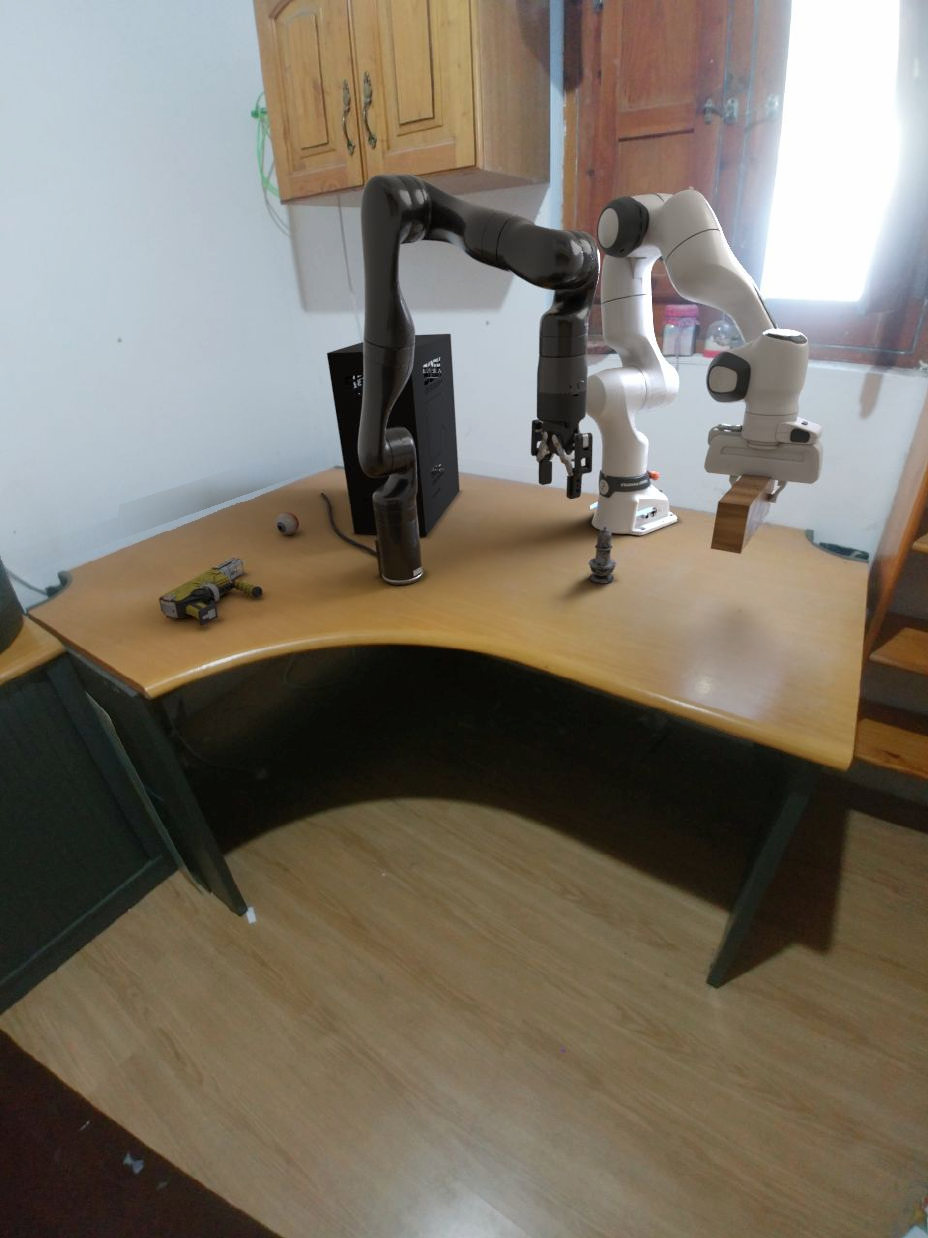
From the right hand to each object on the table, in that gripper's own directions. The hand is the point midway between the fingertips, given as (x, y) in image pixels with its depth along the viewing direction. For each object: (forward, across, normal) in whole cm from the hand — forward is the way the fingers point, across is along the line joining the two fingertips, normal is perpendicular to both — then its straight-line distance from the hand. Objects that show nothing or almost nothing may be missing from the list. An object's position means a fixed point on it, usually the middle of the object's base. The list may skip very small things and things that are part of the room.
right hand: (754, 499), depth 118 cm
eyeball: (+18, -110, -26) cm, 115 cm away
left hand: (-10, -24, -38) cm, 46 cm away
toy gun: (+18, -93, -60) cm, 112 cm away
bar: (+3, 0, -8) cm, 9 cm away
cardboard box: (+18, -92, +4) cm, 93 cm away
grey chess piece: (+18, -26, -11) cm, 34 cm away
